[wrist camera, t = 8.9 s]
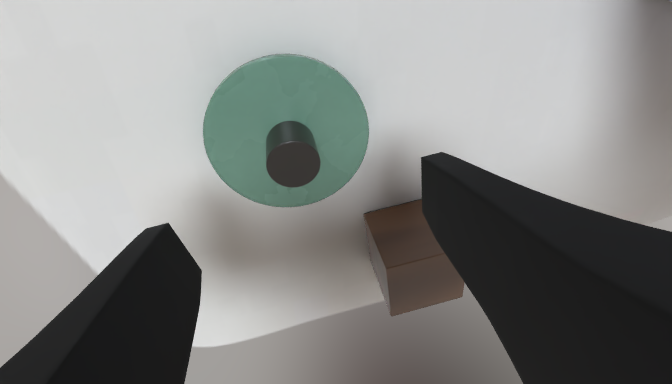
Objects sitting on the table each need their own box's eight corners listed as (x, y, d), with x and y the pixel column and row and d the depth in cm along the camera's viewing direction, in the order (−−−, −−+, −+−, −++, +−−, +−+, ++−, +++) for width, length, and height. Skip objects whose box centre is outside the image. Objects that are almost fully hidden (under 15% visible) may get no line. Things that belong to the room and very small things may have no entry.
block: (430, 244, 20) (462, 297, 16) (370, 260, 19) (391, 317, 16) (431, 195, 17) (469, 246, 14) (363, 213, 17) (385, 268, 14)
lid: (352, 32, 12) (372, 46, 9) (371, 177, 16) (389, 210, 14) (175, 74, 11) (153, 99, 9) (241, 211, 15) (237, 251, 13)
